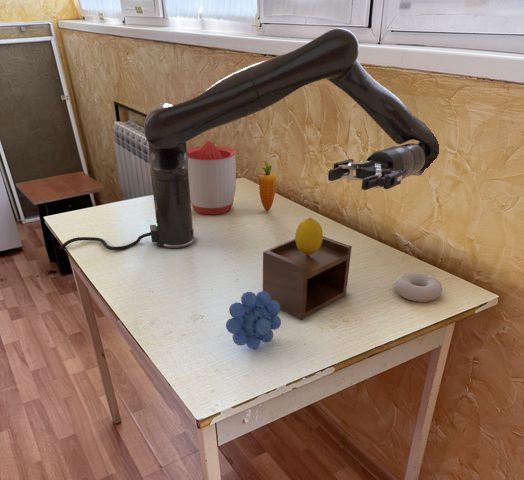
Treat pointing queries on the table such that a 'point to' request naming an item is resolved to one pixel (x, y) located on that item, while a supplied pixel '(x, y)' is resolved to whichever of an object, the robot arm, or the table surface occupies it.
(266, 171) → the carrot
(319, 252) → the tray
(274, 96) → the robot arm
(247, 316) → the grapes
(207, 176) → the citrus juicer
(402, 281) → the donut
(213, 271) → the table surface
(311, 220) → the lemon
